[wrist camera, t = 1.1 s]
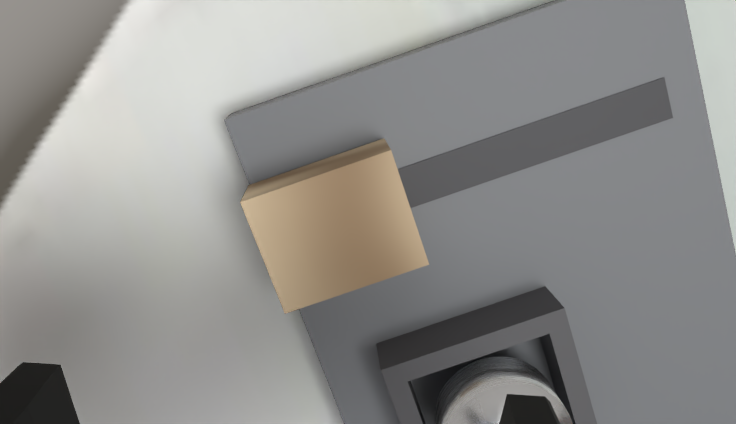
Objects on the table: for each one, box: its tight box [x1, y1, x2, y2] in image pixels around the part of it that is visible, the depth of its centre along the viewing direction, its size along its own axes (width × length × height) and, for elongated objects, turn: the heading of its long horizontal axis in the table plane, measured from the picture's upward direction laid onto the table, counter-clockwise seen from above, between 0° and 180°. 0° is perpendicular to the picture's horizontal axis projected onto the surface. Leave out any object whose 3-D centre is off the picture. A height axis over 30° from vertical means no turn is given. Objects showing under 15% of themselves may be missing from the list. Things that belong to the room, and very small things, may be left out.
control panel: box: [224, 0, 736, 424], centre depth 21 cm, size 13×21×3 cm, turn 19°
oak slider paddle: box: [240, 138, 429, 314], centre depth 18 cm, size 4×3×2 cm
